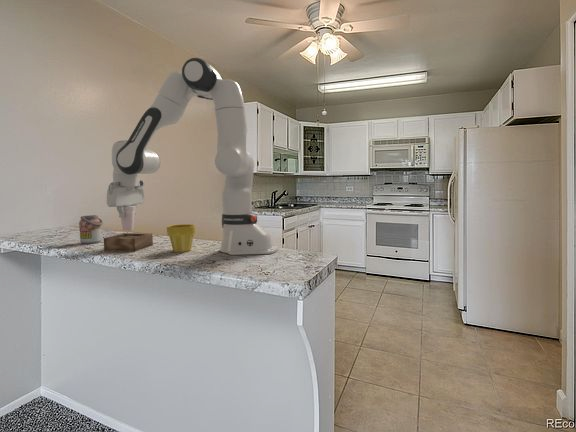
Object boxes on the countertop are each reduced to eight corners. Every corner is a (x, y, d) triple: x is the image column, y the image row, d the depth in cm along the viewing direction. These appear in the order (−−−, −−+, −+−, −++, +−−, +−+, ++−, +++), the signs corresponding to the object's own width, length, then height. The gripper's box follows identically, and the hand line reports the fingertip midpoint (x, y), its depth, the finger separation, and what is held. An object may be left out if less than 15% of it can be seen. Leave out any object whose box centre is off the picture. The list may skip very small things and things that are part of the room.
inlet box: (152, 244, 139) (152, 233, 139) (135, 251, 126) (134, 238, 126) (124, 244, 140) (123, 233, 140) (104, 250, 128) (103, 238, 127)
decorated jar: (108, 241, 150) (106, 215, 148) (95, 244, 141) (93, 217, 140) (89, 240, 151) (87, 215, 149) (75, 244, 142) (73, 217, 141)
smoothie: (129, 231, 129) (127, 195, 127) (115, 230, 130) (113, 195, 129) (140, 228, 135) (138, 195, 134) (126, 228, 136) (124, 195, 135)
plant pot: (179, 247, 134) (178, 223, 133) (201, 248, 131) (200, 224, 130) (162, 252, 124) (161, 226, 123) (185, 253, 121) (184, 227, 120)
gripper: (116, 182, 120) (119, 219, 121) (146, 182, 140) (148, 214, 142) (100, 182, 121) (103, 219, 122) (132, 182, 141) (134, 213, 142)
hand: (127, 216), depth 132 cm, fingers closed on smoothie, 5 cm apart
